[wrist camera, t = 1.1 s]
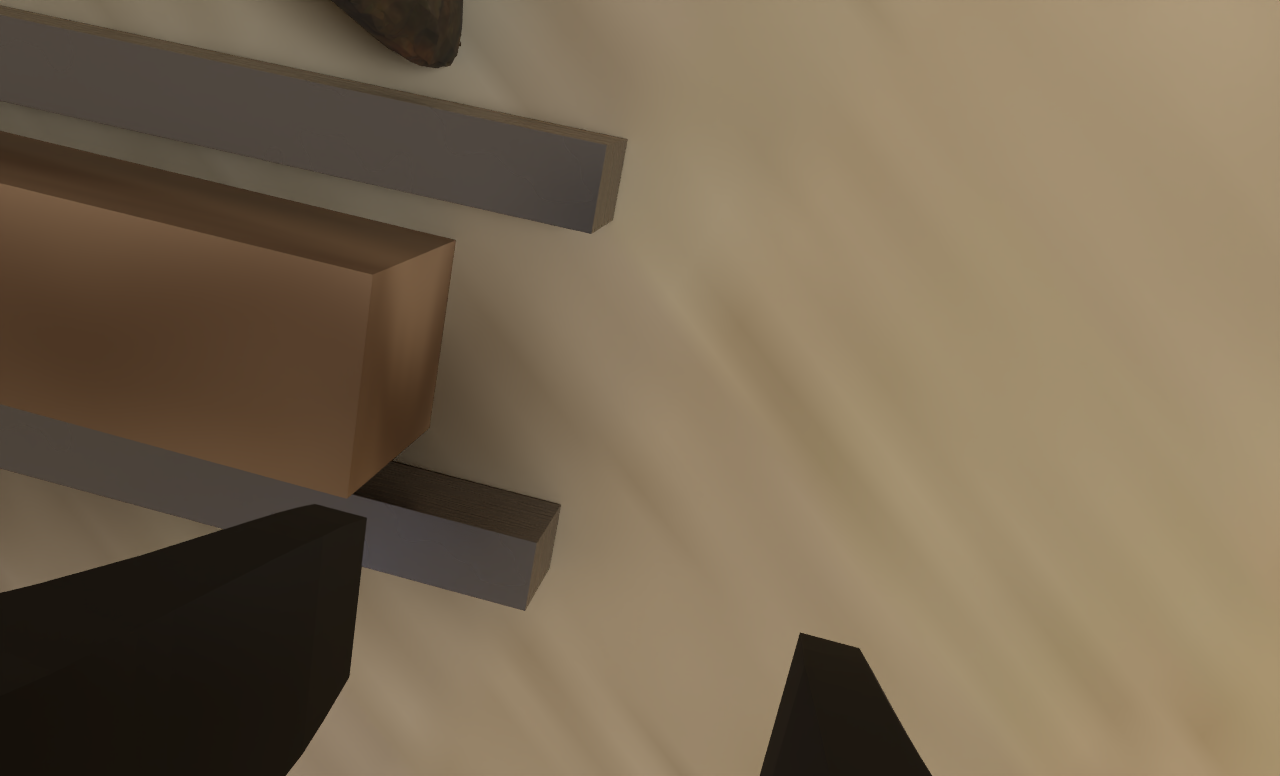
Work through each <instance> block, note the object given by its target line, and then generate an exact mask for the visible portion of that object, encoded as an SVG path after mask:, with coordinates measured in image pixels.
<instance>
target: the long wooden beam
mask: <svg viewBox="0 0 1280 776" xmlns="http://www.w3.org/2000/svg"><path fill="white" fill-rule="evenodd" d="M455 242H456V240H453V239H449V238H445V237H441V236H436V235H432V234H428V233H424V232H420V231H415V230H411V229H407V228H403V227H399V226H395V225H390V224H386V223H382V222H378V221H374V220H370V219H365V218H361V217H357V216H353V215H349V214H345V213H340V212H336V211H332V210H328V209H324V208H320V207H315V206H311V205H307V204H303V203H299V202H294V201H290V200H286V199H282V198H278V197H274V196H269V195H265V194H261V193H257V192H253V191H249V190H244V189H240V188H236V187H232V186H228V185H224V184H219V183H215V182H211V181H207V180H203V179H199V178H194V177H190V176H186V175H182V174H178V173H173V172H169V171H165V170H161V169H157V168H153V167H148V166H144V165H140V164H136V163H132V162H128V161H123V160H119V159H115V158H111V157H107V156H103V155H98V154H94V153H90V152H86V151H82V150H78V149H73V148H69V147H65V146H61V145H57V144H52V143H48V142H44V141H40V140H36V139H32V138H27V137H23V136H19V135H15V134H11V133H7V132H2V131H0V404H1V405H5V406H9V407H12V408H16V409H20V410H23V411H27V412H31V413H34V414H38V415H42V416H45V417H49V418H53V419H56V420H60V421H64V422H67V423H71V424H75V425H78V426H82V427H86V428H89V429H93V430H97V431H100V432H104V433H108V434H111V435H115V436H119V437H122V438H126V439H130V440H133V441H137V442H141V443H144V444H148V445H152V446H155V447H159V448H163V449H166V450H170V451H174V452H177V453H181V454H185V455H188V456H192V457H196V458H199V459H203V460H207V461H210V462H214V463H218V464H221V465H225V466H229V467H232V468H236V469H240V470H243V471H247V472H251V473H254V474H258V475H262V476H265V477H269V478H273V479H276V480H280V481H284V482H287V483H291V484H295V485H298V486H302V487H306V488H309V489H313V490H317V491H320V492H324V493H328V494H331V495H335V496H339V497H342V498H346V499H347V498H349V497H350V496H351V495H352V494H353V493H354V492H356V491H357V490H358V489H359V488H360V487H361V486H362V485H364V484H365V483H366V482H367V481H368V480H369V479H371V478H372V477H373V476H374V475H375V474H376V473H378V472H379V471H380V470H381V469H382V468H383V467H385V466H386V465H387V464H388V463H389V462H390V461H391V460H393V459H394V458H395V457H396V456H397V455H398V454H400V453H401V452H402V451H403V450H404V449H405V448H407V447H408V446H409V445H410V444H411V443H412V442H414V441H415V440H416V439H417V438H418V437H419V436H420V435H422V434H423V433H424V432H425V431H426V430H427V429H429V427H430V420H431V413H432V406H433V399H434V392H435V385H436V378H437V370H438V363H439V356H440V349H441V342H442V335H443V328H444V321H445V313H446V306H447V299H448V292H449V285H450V278H451V271H452V264H453V257H454V249H455Z"/></svg>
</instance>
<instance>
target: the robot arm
mask: <svg viewBox="0 0 1280 776" xmlns="http://www.w3.org/2000/svg"><path fill="white" fill-rule="evenodd" d="M366 523H367V517H363V516H359V515H355V514H352V513H348V512H344V511H340V510H337V509H333V508H329V507H325V506H321V505H318V504H311V505H306V506H301V507H297V508H293V509H289V510H285V511H282V512H278V513H275V514H271V515H268V516H265V517H262V518H258V519H255V520H252V521H249V522H245V523H242V524H239V525H236V526H233V527H230V528H227V529H223V530H220V531H217V532H214V533H211V534H208V535H204V536H201V537H198V538H195V539H192V540H189V541H185V542H182V543H179V544H176V545H173V546H169V547H166V548H163V549H160V550H157V551H154V552H150V553H147V554H144V555H141V556H137V557H134V558H130V559H126V560H123V561H119V562H116V563H112V564H108V565H105V566H101V567H97V568H94V569H90V570H87V571H83V572H79V573H76V574H72V575H69V576H65V577H61V578H58V579H54V580H50V581H47V582H43V583H40V584H36V585H32V586H28V587H23V588H19V589H15V590H11V591H7V592H2V593H0V776H286V775H287V773H288V772H289V771H290V769H291V768H292V767H293V766H294V764H295V763H296V762H297V760H298V759H299V758H300V757H301V755H302V754H303V752H304V751H305V749H306V748H307V746H308V744H309V743H310V741H311V740H312V738H313V736H314V735H315V733H316V732H317V730H318V729H319V727H320V725H321V724H322V722H323V721H324V719H325V717H326V716H327V714H328V712H329V711H330V709H331V707H332V705H333V704H334V702H335V700H336V699H337V697H338V695H339V694H340V692H341V690H342V688H343V687H344V685H345V683H346V682H347V680H348V678H349V675H350V666H351V657H352V648H353V639H354V630H355V621H356V612H357V603H358V595H359V586H360V577H361V568H362V559H363V550H364V541H365V532H366ZM760 776H932V775H931V773H930V771H929V770H928V768H927V767H926V765H925V763H924V762H923V760H922V759H921V757H920V755H919V754H918V752H917V750H916V749H915V747H914V745H913V743H912V742H911V740H910V738H909V737H908V735H907V733H906V731H905V730H904V728H903V726H902V724H901V722H900V721H899V719H898V717H897V715H896V714H895V712H894V710H893V708H892V706H891V705H890V703H889V701H888V699H887V697H886V695H885V694H884V692H883V690H882V688H881V686H880V684H879V683H878V681H877V679H876V677H875V675H874V673H873V671H872V670H871V668H870V666H869V664H868V663H867V661H866V659H865V657H864V656H863V654H862V652H861V650H860V649H859V648H856V647H853V646H849V645H845V644H841V643H837V642H834V641H830V640H826V639H822V638H819V637H815V636H811V635H807V634H804V633H800V635H799V638H798V642H797V645H796V649H795V652H794V656H793V660H792V663H791V667H790V670H789V674H788V677H787V681H786V684H785V688H784V691H783V695H782V699H781V702H780V706H779V709H778V713H777V716H776V720H775V723H774V727H773V730H772V734H771V737H770V741H769V745H768V748H767V752H766V755H765V759H764V762H763V766H762V769H761V773H760Z"/></svg>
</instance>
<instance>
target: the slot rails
mask: <svg viewBox="0 0 1280 776" xmlns="http://www.w3.org/2000/svg"><path fill="white" fill-rule="evenodd" d="M0 101H4V102H9V103H13V104H18V105H22V106H27V107H31V108H35V109H40V110H44V111H49V112H53V113H58V114H62V115H66V116H71V117H75V118H80V119H84V120H89V121H93V122H98V123H102V124H106V125H111V126H115V127H120V128H124V129H129V130H133V131H137V132H142V133H146V134H151V135H155V136H160V137H164V138H168V139H173V140H177V141H182V142H186V143H191V144H195V145H200V146H204V147H208V148H213V149H217V150H222V151H226V152H231V153H235V154H239V155H244V156H248V157H253V158H257V159H262V160H266V161H271V162H275V163H279V164H284V165H288V166H293V167H297V168H302V169H306V170H310V171H315V172H319V173H324V174H328V175H333V176H337V177H342V178H346V179H350V180H355V181H359V182H364V183H368V184H373V185H377V186H381V187H386V188H390V189H395V190H399V191H404V192H408V193H413V194H417V195H421V196H426V197H430V198H435V199H439V200H444V201H448V202H452V203H457V204H461V205H466V206H470V207H475V208H479V209H483V210H488V211H492V212H497V213H501V214H506V215H510V216H515V217H519V218H523V219H528V220H532V221H537V222H541V223H546V224H550V225H554V226H559V227H563V228H568V229H572V230H577V231H581V232H586V233H590V234H592V233H593V232H595V231H596V230H598V229H600V228H601V227H603V226H604V225H606V224H608V223H609V222H611V221H612V220H613V216H614V211H615V205H616V200H617V194H618V189H619V183H620V178H621V172H622V167H623V161H624V156H625V150H626V145H627V140H628V139H623V138H619V137H614V136H609V135H605V134H600V133H595V132H590V131H586V130H581V129H576V128H572V127H567V126H562V125H558V124H553V123H548V122H544V121H539V120H534V119H530V118H525V117H520V116H516V115H511V114H506V113H501V112H497V111H492V110H487V109H483V108H478V107H473V106H469V105H464V104H459V103H455V102H450V101H445V100H441V99H436V98H431V97H427V96H422V95H417V94H412V93H408V92H403V91H398V90H394V89H389V88H384V87H380V86H375V85H370V84H366V83H361V82H356V81H352V80H347V79H342V78H338V77H333V76H328V75H323V74H319V73H314V72H309V71H305V70H300V69H295V68H291V67H286V66H281V65H277V64H272V63H267V62H263V61H258V60H253V59H249V58H244V57H239V56H234V55H230V54H225V53H220V52H216V51H211V50H206V49H202V48H197V47H192V46H188V45H183V44H178V43H174V42H169V41H164V40H160V39H155V38H150V37H145V36H141V35H136V34H131V33H127V32H122V31H117V30H113V29H108V28H103V27H99V26H94V25H89V24H85V23H80V22H75V21H71V20H66V19H61V18H56V17H52V16H47V15H42V14H38V13H33V12H28V11H24V10H19V9H14V8H10V7H5V6H0ZM0 468H1V469H5V470H8V471H12V472H16V473H19V474H23V475H27V476H30V477H34V478H38V479H41V480H45V481H49V482H53V483H56V484H60V485H64V486H67V487H71V488H75V489H78V490H82V491H86V492H89V493H93V494H97V495H100V496H104V497H108V498H111V499H115V500H119V501H123V502H126V503H130V504H134V505H137V506H141V507H145V508H148V509H152V510H156V511H159V512H163V513H167V514H170V515H174V516H178V517H181V518H185V519H189V520H192V521H196V522H200V523H204V524H207V525H211V526H215V527H218V528H222V529H227V528H230V527H233V526H236V525H239V524H242V523H245V522H249V521H252V520H255V519H258V518H262V517H265V516H268V515H271V514H275V513H278V512H282V511H285V510H289V509H293V508H297V507H301V506H306V505H311V504H318V505H321V506H325V507H329V508H333V509H337V510H340V511H344V512H348V513H352V514H355V515H359V516H363V517H367V523H366V532H365V541H364V550H363V559H362V567H366V568H369V569H373V570H377V571H380V572H384V573H388V574H391V575H395V576H399V577H402V578H406V579H410V580H413V581H417V582H421V583H424V584H428V585H432V586H436V587H439V588H443V589H447V590H450V591H454V592H458V593H461V594H465V595H469V596H472V597H476V598H480V599H483V600H487V601H491V602H494V603H498V604H502V605H506V606H509V607H513V608H517V609H520V610H524V611H525V610H526V608H527V606H528V605H529V603H530V601H531V599H532V598H533V596H534V594H535V592H536V591H537V589H538V587H539V585H540V584H541V582H542V580H543V578H544V577H545V575H546V573H547V572H548V570H549V568H550V562H551V557H552V551H553V546H554V540H555V535H556V529H557V524H558V518H559V513H560V507H561V505H558V504H554V503H551V502H547V501H543V500H539V499H535V498H531V497H527V496H523V495H520V494H516V493H512V492H508V491H504V490H500V489H496V488H492V487H489V486H485V485H481V484H477V483H473V482H469V481H465V480H461V479H458V478H454V477H450V476H446V475H442V474H438V473H434V472H430V471H427V470H423V469H419V468H415V467H411V466H407V465H403V464H399V463H396V462H392V461H390V462H389V463H388V464H387V465H386V466H385V467H383V468H382V469H381V470H380V471H379V472H378V473H376V474H375V475H374V476H373V477H372V478H371V479H369V480H368V481H367V482H366V483H365V484H364V485H362V486H361V487H360V488H359V489H358V490H357V491H356V492H354V493H353V494H352V495H351V496H350V497H349V498H347V499H346V498H342V497H339V496H335V495H331V494H328V493H324V492H320V491H317V490H313V489H309V488H306V487H302V486H298V485H295V484H291V483H287V482H284V481H280V480H276V479H273V478H269V477H265V476H262V475H258V474H254V473H251V472H247V471H243V470H240V469H236V468H232V467H229V466H225V465H221V464H218V463H214V462H210V461H207V460H203V459H199V458H196V457H192V456H188V455H185V454H181V453H177V452H174V451H170V450H166V449H163V448H159V447H155V446H152V445H148V444H144V443H141V442H137V441H133V440H130V439H126V438H122V437H119V436H115V435H111V434H108V433H104V432H100V431H97V430H93V429H89V428H86V427H82V426H78V425H75V424H71V423H67V422H64V421H60V420H56V419H53V418H49V417H45V416H42V415H38V414H34V413H31V412H27V411H23V410H20V409H16V408H12V407H9V406H5V405H1V404H0Z"/></svg>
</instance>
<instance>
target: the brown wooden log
mask: <svg viewBox="0 0 1280 776" xmlns="http://www.w3.org/2000/svg"><path fill="white" fill-rule="evenodd" d="M331 1H332V2H334V3H335V4H336V5H337V6H338V7H340V8H341V9H342V10H343V11H344V12H346V13H347V14H348V15H349V16H350V17H351V18H353V19H354V20H355V21H356V22H357V23H359V24H360V25H361V26H362V27H363V28H364V29H366V30H367V31H368V32H369V33H370V34H371V35H372V36H374V37H375V38H376V39H377V40H379V41H380V42H381V43H382V44H384V45H385V46H386V47H387V48H389V49H391V50H393V51H394V52H396V53H398V54H400V55H401V56H403V57H405V58H406V59H408V60H409V61H411V62H413V63H415V64H418V65H420V66H426V67H433V68H439V67H442V66H451V64H452V62H453V60H454V58H455V57H456V56H457V53H458V48H459V46H461V42H460V37H461V30H462V13H463V0H331ZM459 42H460V44H459Z"/></svg>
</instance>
